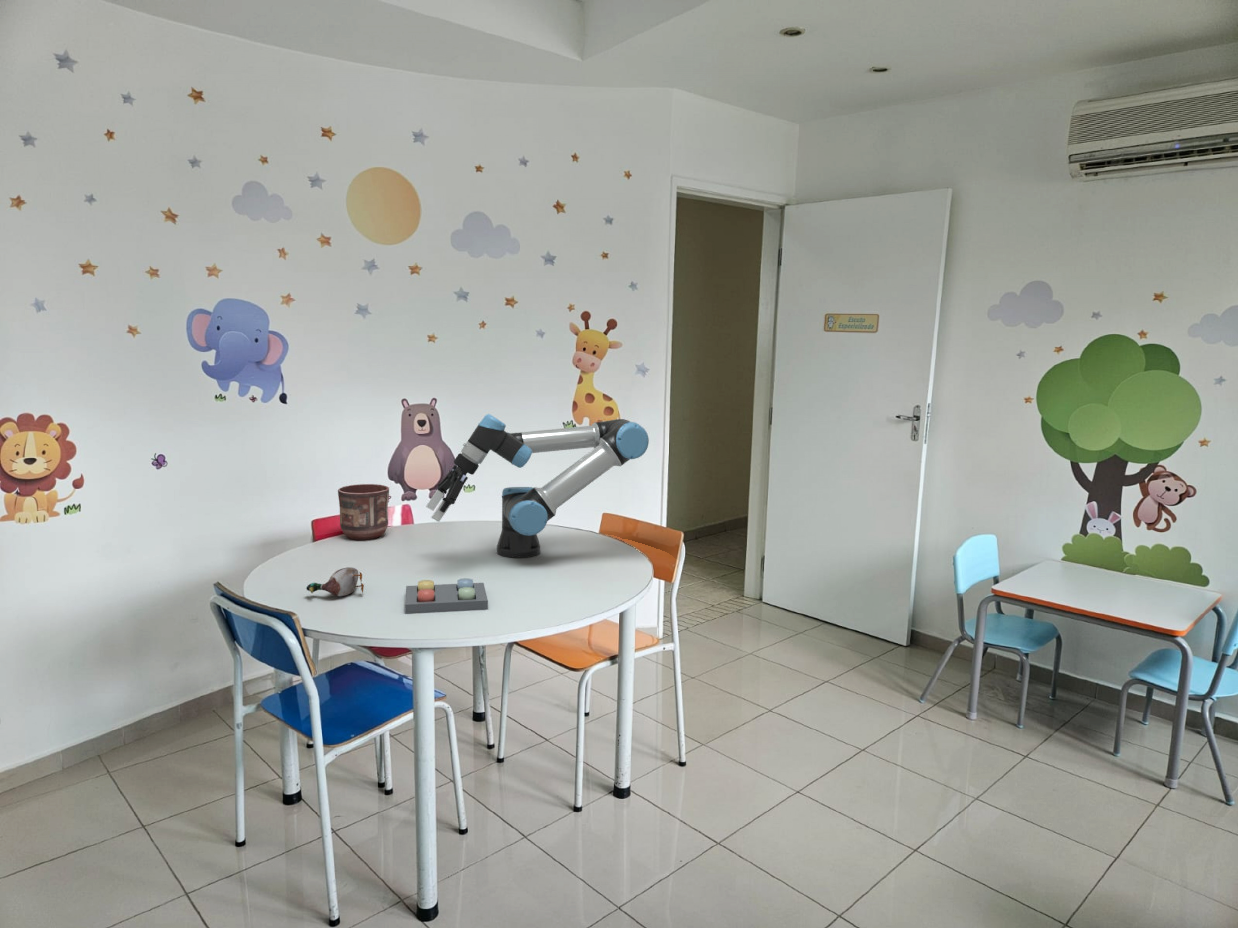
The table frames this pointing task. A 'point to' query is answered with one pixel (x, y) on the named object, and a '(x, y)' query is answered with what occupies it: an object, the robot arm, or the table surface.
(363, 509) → the pottery
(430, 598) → the red button
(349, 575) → the decorative duck model
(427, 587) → the ochre button
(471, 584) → the slate button
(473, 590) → the sage button
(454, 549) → the table surface
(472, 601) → the button panel
